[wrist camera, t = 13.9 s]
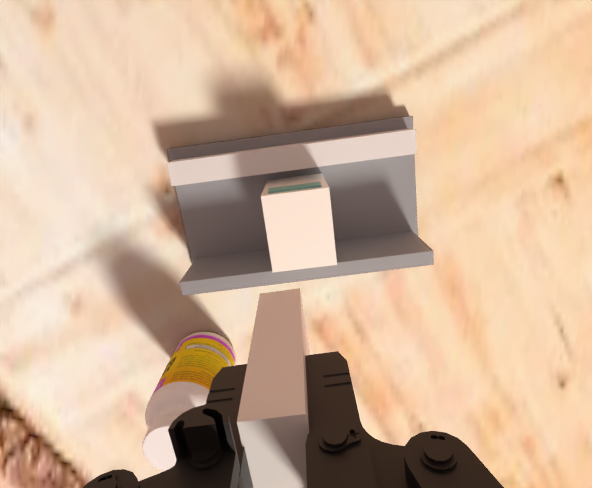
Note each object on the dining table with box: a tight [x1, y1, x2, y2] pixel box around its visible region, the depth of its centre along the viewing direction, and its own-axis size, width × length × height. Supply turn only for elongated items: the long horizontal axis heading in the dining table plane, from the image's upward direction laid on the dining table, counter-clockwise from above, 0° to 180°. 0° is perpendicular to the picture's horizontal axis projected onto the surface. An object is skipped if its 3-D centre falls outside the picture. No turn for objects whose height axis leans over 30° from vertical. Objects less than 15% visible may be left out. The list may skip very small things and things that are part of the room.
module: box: [261, 173, 337, 273], centre depth 34 cm, size 6×5×8 cm
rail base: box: [167, 116, 434, 296], centre depth 35 cm, size 12×22×7 cm, turn 98°
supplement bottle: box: [142, 332, 236, 471], centre depth 37 cm, size 7×7×13 cm
